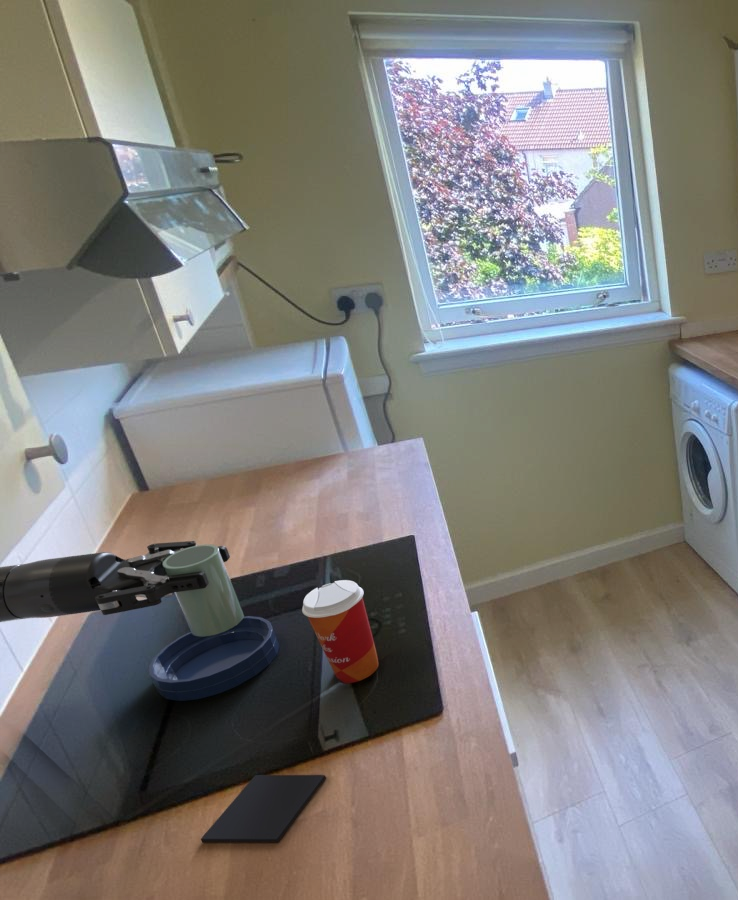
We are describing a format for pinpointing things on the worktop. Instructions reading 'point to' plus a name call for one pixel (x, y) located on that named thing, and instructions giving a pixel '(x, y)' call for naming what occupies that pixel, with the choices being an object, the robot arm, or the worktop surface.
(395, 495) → the worktop surface
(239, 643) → the bowl
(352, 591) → the paper cup
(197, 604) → the cup
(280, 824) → the mat
